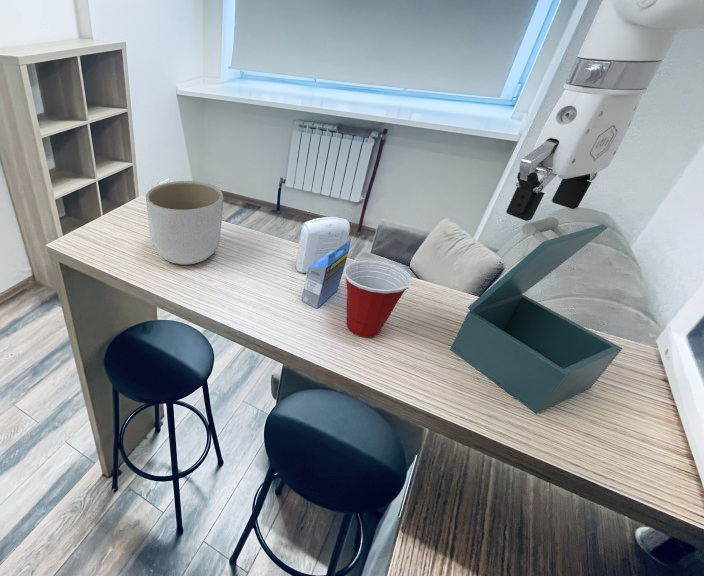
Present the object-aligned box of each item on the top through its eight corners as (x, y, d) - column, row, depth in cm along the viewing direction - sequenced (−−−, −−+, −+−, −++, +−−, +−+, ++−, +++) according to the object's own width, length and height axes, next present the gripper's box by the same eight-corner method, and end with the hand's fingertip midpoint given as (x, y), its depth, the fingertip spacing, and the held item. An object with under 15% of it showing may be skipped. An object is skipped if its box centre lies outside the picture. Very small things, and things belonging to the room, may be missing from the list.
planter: (235, 253, 98) (239, 193, 89) (186, 282, 88) (184, 218, 80) (186, 231, 108) (184, 175, 99) (136, 255, 98) (129, 195, 89)
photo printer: (335, 261, 94) (346, 212, 87) (343, 271, 91) (355, 220, 84) (292, 265, 93) (299, 215, 86) (299, 275, 90) (307, 224, 83)
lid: (608, 227, 56) (575, 203, 59) (548, 245, 53) (516, 218, 55) (524, 293, 69) (500, 270, 71) (470, 311, 65) (448, 286, 68)
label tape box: (322, 283, 87) (332, 231, 80) (340, 290, 85) (352, 238, 78) (300, 301, 82) (309, 248, 75) (318, 310, 80) (329, 255, 73)
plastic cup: (368, 304, 81) (383, 252, 74) (406, 339, 72) (428, 283, 65) (320, 315, 78) (331, 262, 71) (354, 352, 70) (370, 296, 63)
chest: (591, 387, 63) (623, 348, 58) (536, 414, 59) (565, 374, 54) (500, 330, 74) (521, 293, 69) (449, 349, 70) (467, 311, 65)
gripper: (600, 86, 43) (526, 233, 52) (690, 75, 48) (609, 210, 58) (527, 77, 48) (473, 211, 58) (615, 68, 54) (553, 192, 63)
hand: (541, 211), depth 58 cm, fingers open, 9 cm apart
